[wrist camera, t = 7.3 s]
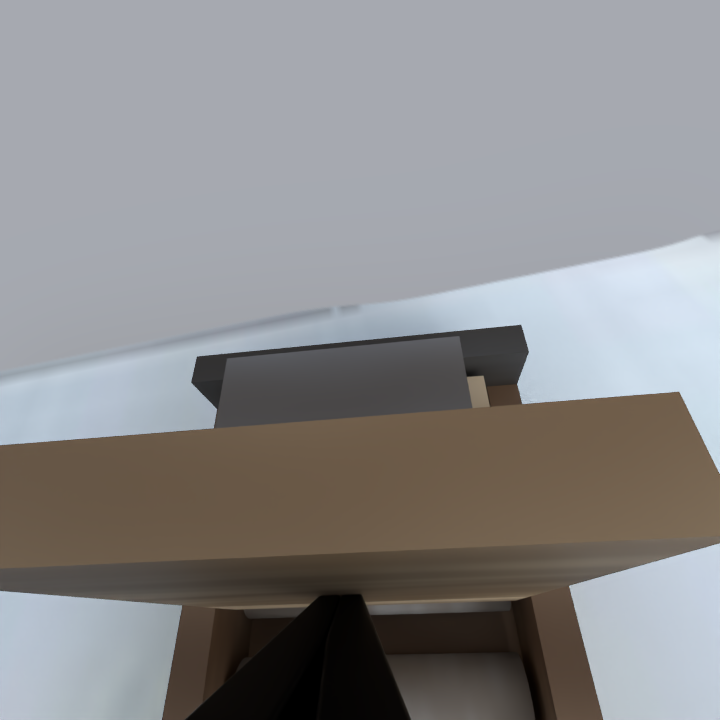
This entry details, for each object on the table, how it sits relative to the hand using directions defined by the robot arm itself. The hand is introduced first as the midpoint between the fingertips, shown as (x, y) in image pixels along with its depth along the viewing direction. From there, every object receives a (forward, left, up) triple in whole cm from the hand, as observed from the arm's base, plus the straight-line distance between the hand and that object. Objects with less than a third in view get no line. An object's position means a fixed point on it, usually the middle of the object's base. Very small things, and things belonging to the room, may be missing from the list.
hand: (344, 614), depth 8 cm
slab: (+3, -2, -4) cm, 6 cm away
